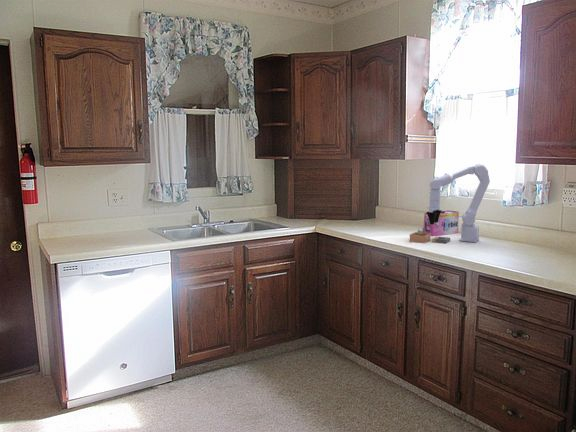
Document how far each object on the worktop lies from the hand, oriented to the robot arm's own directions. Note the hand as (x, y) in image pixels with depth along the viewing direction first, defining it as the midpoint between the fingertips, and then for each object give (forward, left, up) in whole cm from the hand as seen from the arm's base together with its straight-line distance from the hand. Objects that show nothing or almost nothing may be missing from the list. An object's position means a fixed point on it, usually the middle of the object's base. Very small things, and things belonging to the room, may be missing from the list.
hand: (433, 223), depth 294 cm
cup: (+5, +9, -9) cm, 14 cm away
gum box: (+2, -21, -10) cm, 23 cm away
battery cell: (+5, +9, -9) cm, 13 cm away
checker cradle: (-6, +5, -9) cm, 12 cm away
